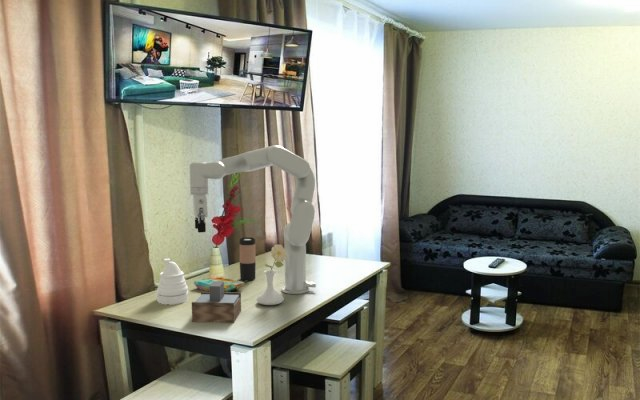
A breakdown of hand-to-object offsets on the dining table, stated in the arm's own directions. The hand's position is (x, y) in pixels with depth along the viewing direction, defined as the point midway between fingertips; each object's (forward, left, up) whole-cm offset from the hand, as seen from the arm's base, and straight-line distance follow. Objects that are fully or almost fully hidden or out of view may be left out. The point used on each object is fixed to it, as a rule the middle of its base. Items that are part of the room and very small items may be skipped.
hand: (200, 230), depth 244 cm
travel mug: (-15, -28, -29) cm, 43 cm away
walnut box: (-13, +27, -29) cm, 42 cm away
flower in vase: (-32, +9, -29) cm, 44 cm away
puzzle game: (-5, -10, -30) cm, 32 cm away
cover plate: (-13, +27, -23) cm, 38 cm away
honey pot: (+11, +7, -29) cm, 32 cm away
